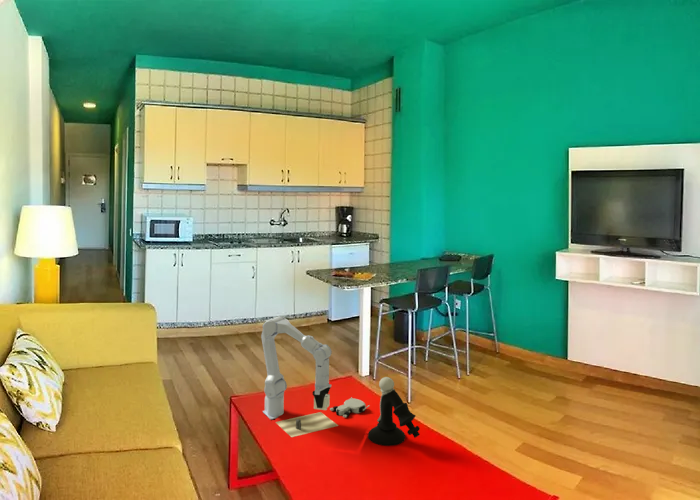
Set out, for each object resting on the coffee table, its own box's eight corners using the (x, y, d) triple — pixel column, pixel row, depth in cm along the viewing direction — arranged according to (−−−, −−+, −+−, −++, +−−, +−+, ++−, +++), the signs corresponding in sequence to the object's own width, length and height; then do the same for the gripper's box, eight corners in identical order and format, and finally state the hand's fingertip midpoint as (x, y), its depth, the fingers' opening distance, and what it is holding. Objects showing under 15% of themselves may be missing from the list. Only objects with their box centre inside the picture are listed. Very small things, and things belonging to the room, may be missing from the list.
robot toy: (345, 424, 228) (370, 412, 238) (345, 414, 227) (370, 403, 237) (328, 414, 237) (353, 404, 247) (327, 405, 237) (352, 395, 246)
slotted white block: (313, 408, 221) (313, 397, 221) (317, 404, 227) (317, 392, 226) (326, 410, 220) (326, 398, 220) (329, 405, 225) (329, 393, 225)
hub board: (275, 424, 224) (275, 414, 223) (320, 414, 235) (320, 404, 235) (291, 439, 210) (291, 428, 210) (338, 427, 222) (338, 417, 221)
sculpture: (384, 425, 225) (386, 369, 222) (429, 444, 209) (432, 383, 206) (360, 436, 214) (361, 377, 211) (406, 457, 198) (408, 393, 195)
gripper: (326, 380, 214) (326, 412, 215) (335, 369, 228) (335, 399, 229) (310, 379, 216) (309, 410, 217) (320, 368, 230) (319, 397, 231)
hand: (321, 405), depth 223 cm, fingers closed on slotted white block, 5 cm apart
